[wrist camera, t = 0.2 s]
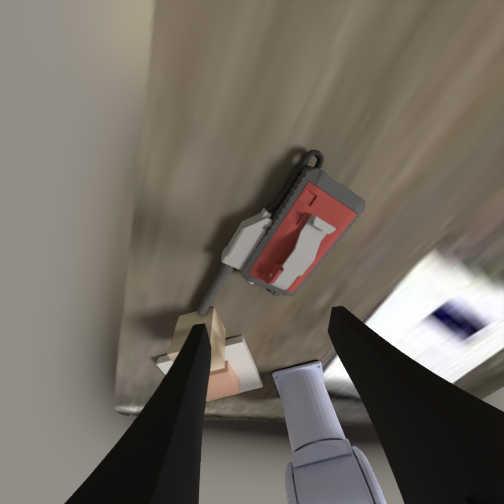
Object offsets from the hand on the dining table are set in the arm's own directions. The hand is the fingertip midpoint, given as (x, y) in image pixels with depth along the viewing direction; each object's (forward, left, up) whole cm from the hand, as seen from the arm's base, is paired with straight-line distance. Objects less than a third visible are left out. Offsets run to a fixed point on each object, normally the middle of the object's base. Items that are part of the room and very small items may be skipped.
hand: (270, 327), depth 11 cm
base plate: (-18, +11, -10) cm, 24 cm away
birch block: (-8, +9, -10) cm, 16 cm away
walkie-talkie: (-1, -1, -11) cm, 11 cm away
